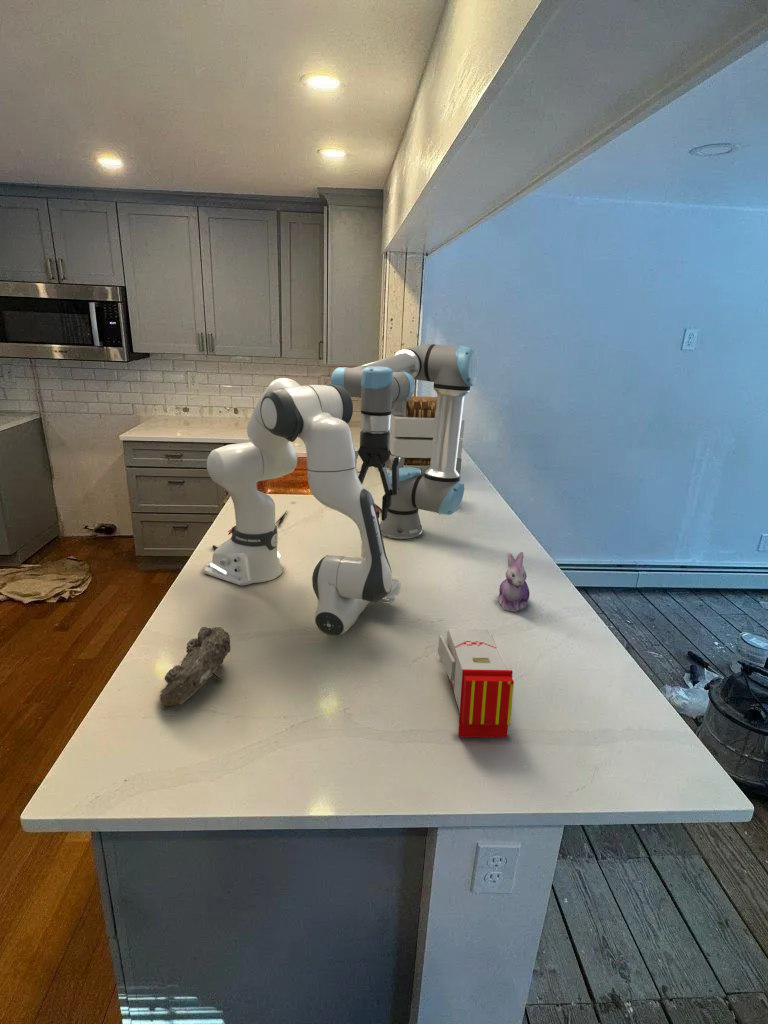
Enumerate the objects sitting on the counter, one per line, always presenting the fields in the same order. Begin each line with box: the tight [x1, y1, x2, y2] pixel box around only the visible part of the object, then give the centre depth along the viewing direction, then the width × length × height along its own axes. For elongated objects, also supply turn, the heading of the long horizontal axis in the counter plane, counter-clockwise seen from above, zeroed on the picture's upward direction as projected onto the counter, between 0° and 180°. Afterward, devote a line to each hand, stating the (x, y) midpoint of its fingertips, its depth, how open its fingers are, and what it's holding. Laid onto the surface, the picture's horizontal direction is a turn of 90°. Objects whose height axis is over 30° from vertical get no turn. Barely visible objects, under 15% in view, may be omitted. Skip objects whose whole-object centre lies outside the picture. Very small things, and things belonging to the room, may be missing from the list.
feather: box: [275, 510, 288, 528], centre depth 213 cm, size 2×28×2 cm
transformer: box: [385, 395, 465, 481], centre depth 268 cm, size 34×33×41 cm
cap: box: [376, 508, 381, 520], centre depth 149 cm, size 4×4×2 cm
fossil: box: [159, 626, 232, 707], centre depth 118 cm, size 22×10×15 cm
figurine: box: [497, 551, 530, 612], centre depth 152 cm, size 9×10×15 cm
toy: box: [437, 628, 515, 738], centre depth 117 cm, size 12×13×30 cm
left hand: (370, 572), depth 156 cm, fingers closed on bottle, 5 cm apart
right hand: (371, 516), depth 150 cm, fingers open, 6 cm apart
